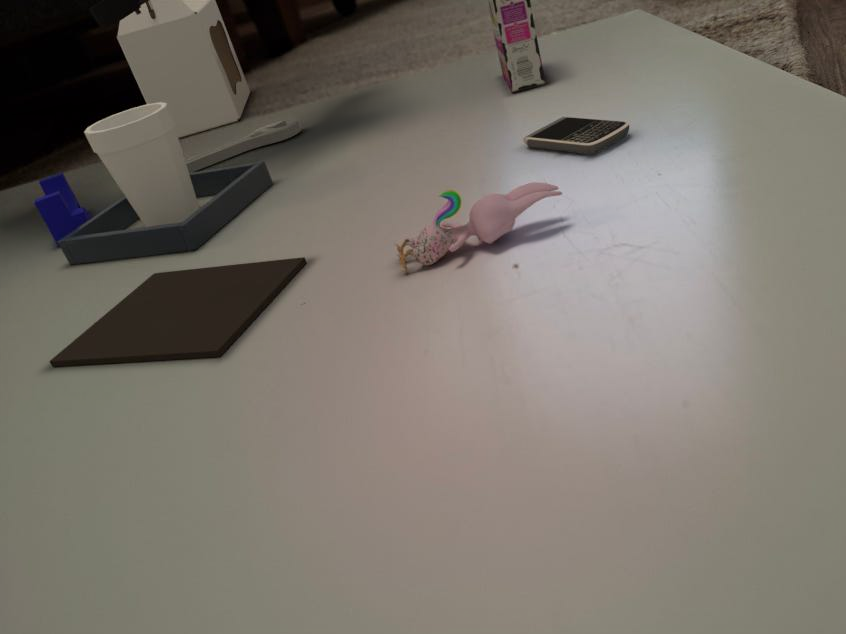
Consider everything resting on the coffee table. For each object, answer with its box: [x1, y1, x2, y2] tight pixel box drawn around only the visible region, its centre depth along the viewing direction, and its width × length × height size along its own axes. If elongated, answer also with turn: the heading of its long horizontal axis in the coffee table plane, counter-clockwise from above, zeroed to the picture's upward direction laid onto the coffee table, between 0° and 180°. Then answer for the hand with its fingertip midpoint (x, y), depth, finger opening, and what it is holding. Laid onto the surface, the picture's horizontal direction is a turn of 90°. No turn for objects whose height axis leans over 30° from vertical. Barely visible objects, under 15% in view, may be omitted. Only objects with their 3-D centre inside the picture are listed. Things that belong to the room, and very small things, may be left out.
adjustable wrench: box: [185, 119, 302, 173], centre depth 122 cm, size 25×6×2 cm, turn 114°
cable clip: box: [33, 171, 94, 248], centre depth 108 cm, size 12×4×6 cm, turn 23°
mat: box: [49, 256, 307, 368], centre depth 77 cm, size 18×16×1 cm
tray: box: [58, 160, 274, 266], centre depth 100 cm, size 18×18×3 cm
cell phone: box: [522, 116, 630, 155], centre depth 90 cm, size 6×11×1 cm, turn 41°
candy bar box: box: [486, 0, 546, 93], centre depth 113 cm, size 11×5×16 cm, turn 6°
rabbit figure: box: [394, 181, 563, 274], centre depth 72 cm, size 6×6×15 cm
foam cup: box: [83, 102, 200, 227], centre depth 98 cm, size 10×9×13 cm
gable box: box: [116, 0, 251, 139], centre depth 143 cm, size 22×13×28 cm, turn 9°
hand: (131, 2), depth 97 cm, fingers open, 13 cm apart
